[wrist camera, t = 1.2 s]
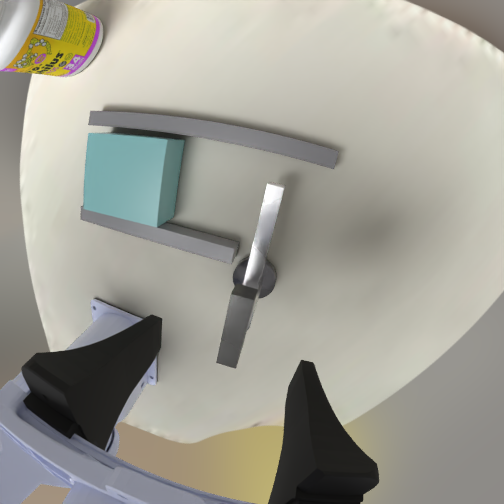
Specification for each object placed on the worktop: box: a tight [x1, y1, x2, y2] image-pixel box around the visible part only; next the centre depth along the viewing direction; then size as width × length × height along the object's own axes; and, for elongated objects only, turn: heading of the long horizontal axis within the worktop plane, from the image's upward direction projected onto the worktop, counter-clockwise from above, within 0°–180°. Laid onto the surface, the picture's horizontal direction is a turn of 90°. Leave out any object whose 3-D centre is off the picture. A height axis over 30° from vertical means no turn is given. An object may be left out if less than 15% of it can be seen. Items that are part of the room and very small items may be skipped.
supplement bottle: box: [0, 0, 103, 77], centre depth 11 cm, size 7×7×13 cm
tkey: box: [216, 182, 285, 368], centre depth 17 cm, size 10×1×7 cm, turn 167°
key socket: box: [233, 257, 276, 299], centre depth 21 cm, size 3×3×1 cm
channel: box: [81, 111, 339, 264], centre depth 19 cm, size 9×19×2 cm, turn 78°
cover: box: [83, 133, 185, 227], centre depth 19 cm, size 6×7×3 cm
